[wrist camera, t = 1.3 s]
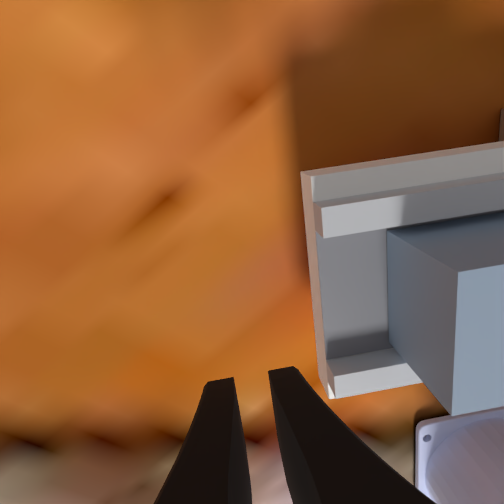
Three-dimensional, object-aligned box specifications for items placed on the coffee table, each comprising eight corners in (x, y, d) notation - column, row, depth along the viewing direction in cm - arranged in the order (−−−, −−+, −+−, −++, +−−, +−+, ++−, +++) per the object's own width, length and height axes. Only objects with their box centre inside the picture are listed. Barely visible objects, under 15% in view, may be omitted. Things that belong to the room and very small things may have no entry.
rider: (510, 319, 15) (612, 384, 11) (388, 341, 15) (451, 416, 11) (521, 208, 14) (643, 239, 10) (386, 230, 13) (458, 272, 9)
